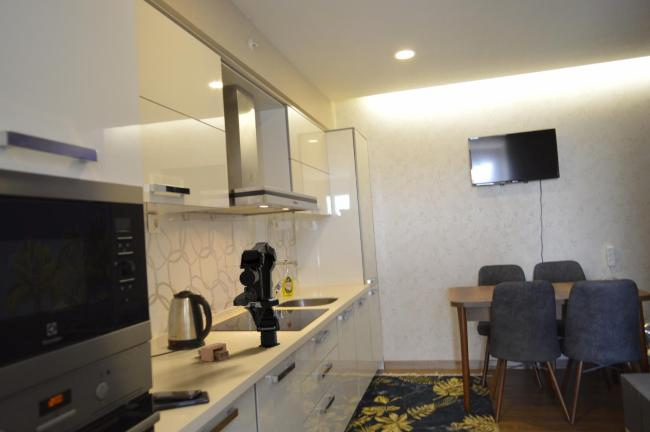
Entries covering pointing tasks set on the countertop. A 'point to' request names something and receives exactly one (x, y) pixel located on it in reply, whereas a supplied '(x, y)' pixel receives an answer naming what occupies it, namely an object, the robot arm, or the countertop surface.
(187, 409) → the countertop surface
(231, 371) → the countertop surface
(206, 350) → the pink bridge block
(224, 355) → the tan long bar
